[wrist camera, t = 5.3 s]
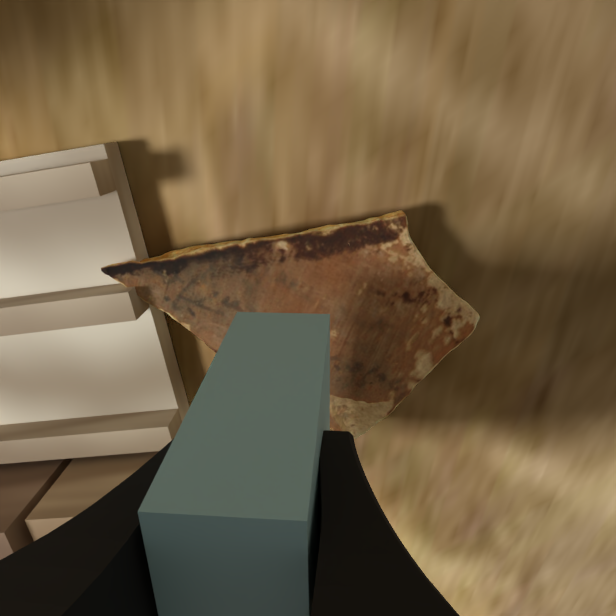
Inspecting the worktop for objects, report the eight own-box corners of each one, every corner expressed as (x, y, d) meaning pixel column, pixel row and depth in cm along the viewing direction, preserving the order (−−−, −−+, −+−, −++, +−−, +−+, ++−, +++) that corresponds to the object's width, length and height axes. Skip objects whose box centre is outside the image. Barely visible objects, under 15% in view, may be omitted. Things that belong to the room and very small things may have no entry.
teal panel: (252, 507, 17) (189, 771, 11) (236, 312, 14) (137, 511, 8) (329, 511, 17) (313, 783, 10) (329, 314, 14) (307, 521, 7)
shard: (116, 258, 19) (94, 272, 17) (241, 74, 16) (229, 68, 15) (350, 429, 20) (351, 457, 19) (492, 284, 18) (508, 301, 16)
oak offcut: (83, 445, 21) (24, 520, 17) (174, 438, 20) (133, 513, 17) (98, 486, 21) (44, 566, 18) (186, 479, 21) (149, 560, 17)
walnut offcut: (-12, 453, 21) (-101, 539, 17) (74, 446, 21) (3, 532, 17) (6, 493, 22) (-76, 584, 18) (89, 486, 22) (25, 578, 17)
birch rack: (-120, 181, 18) (-179, 191, 16) (117, 141, 17) (85, 146, 15) (25, 513, 24) (-6, 552, 22) (215, 501, 23) (201, 540, 20)
